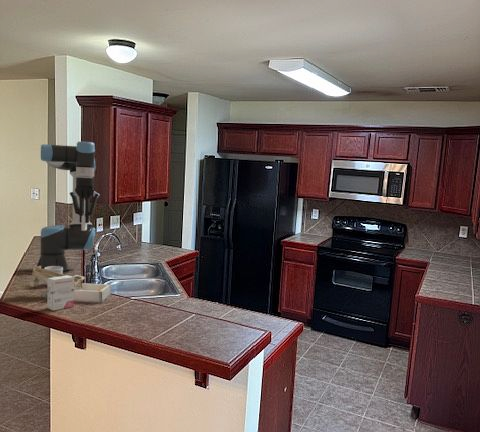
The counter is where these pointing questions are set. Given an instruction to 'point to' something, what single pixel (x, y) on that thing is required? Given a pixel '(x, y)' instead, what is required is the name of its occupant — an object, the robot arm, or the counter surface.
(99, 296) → the dish
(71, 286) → the ink box
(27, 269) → the counter surface
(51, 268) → the cup
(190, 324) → the counter surface
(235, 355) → the counter surface
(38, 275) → the lever
